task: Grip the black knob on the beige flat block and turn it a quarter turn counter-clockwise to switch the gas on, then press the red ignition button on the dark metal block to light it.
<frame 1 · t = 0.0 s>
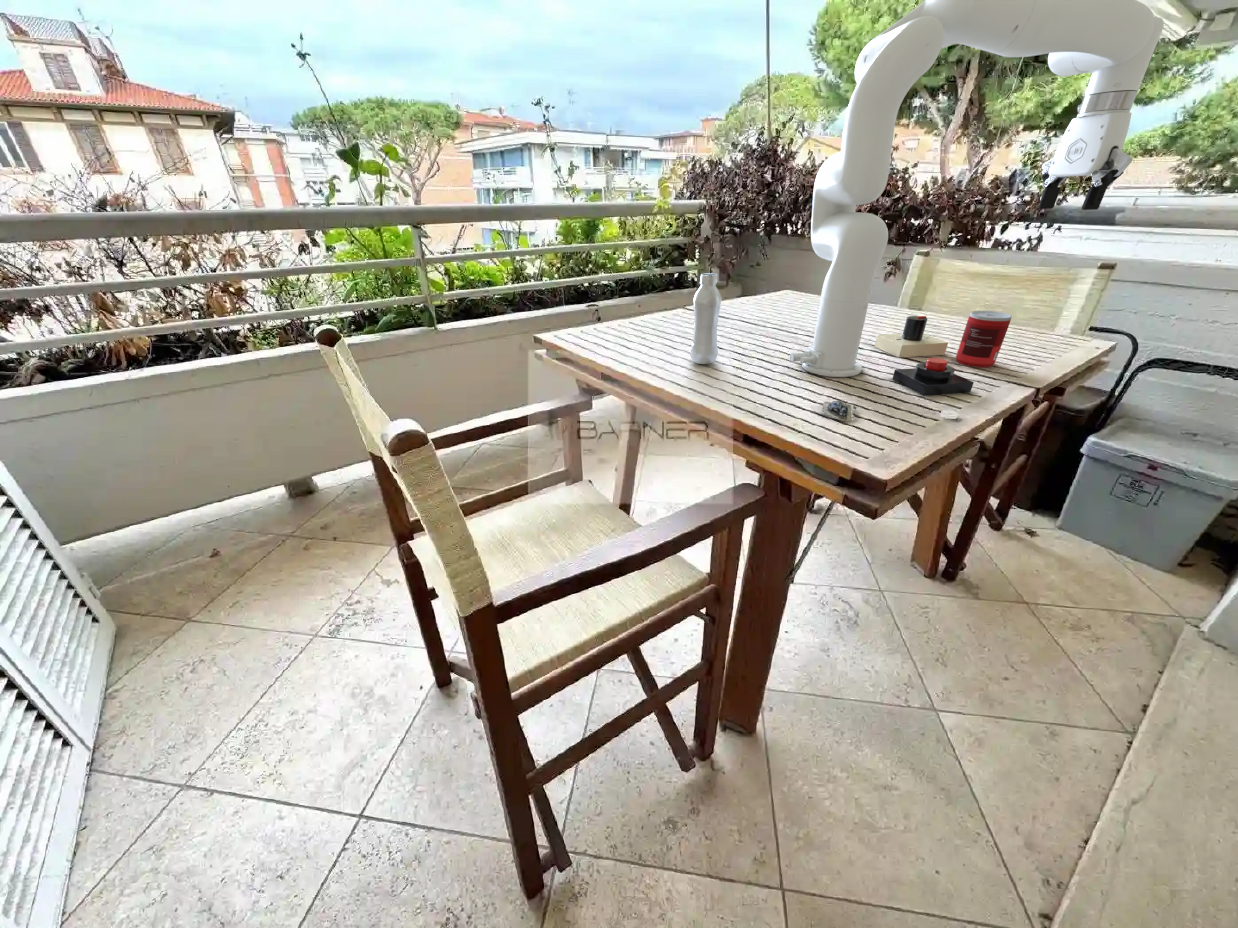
hand: (1066, 209, 99), 31 cm above the table, tool pointing down, fingers open, 9 cm apart
blueberries: (840, 414, 88), on the table
beige flat block: (908, 350, 121), on the table
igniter: (929, 385, 99), on the table
ignition button: (936, 364, 97), point 4 cm above the table, slide at 0.1 cm
canned food: (973, 363, 112), on the table
plastic bottle: (703, 363, 116), on the table
hob knob: (914, 327, 118), point 6 cm above the table, hinge at 0.0°
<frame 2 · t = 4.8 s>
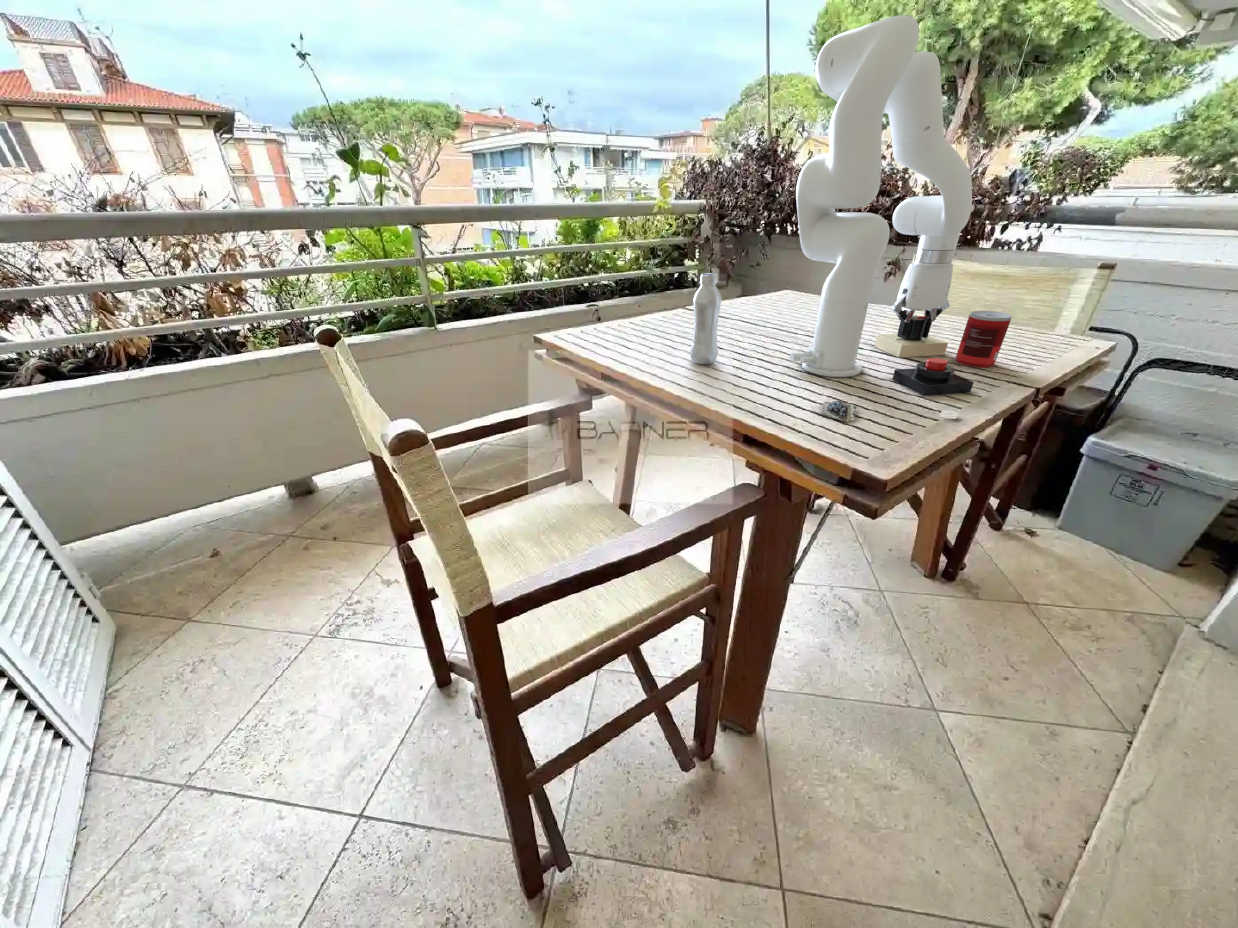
hand: (912, 336, 119), 4 cm above the table, tool pointing down, fingers closed on hob knob, 4 cm apart
hob knob: (914, 327, 118), point 6 cm above the table, hinge at -0.1°, touching gripper
everything else where it was.
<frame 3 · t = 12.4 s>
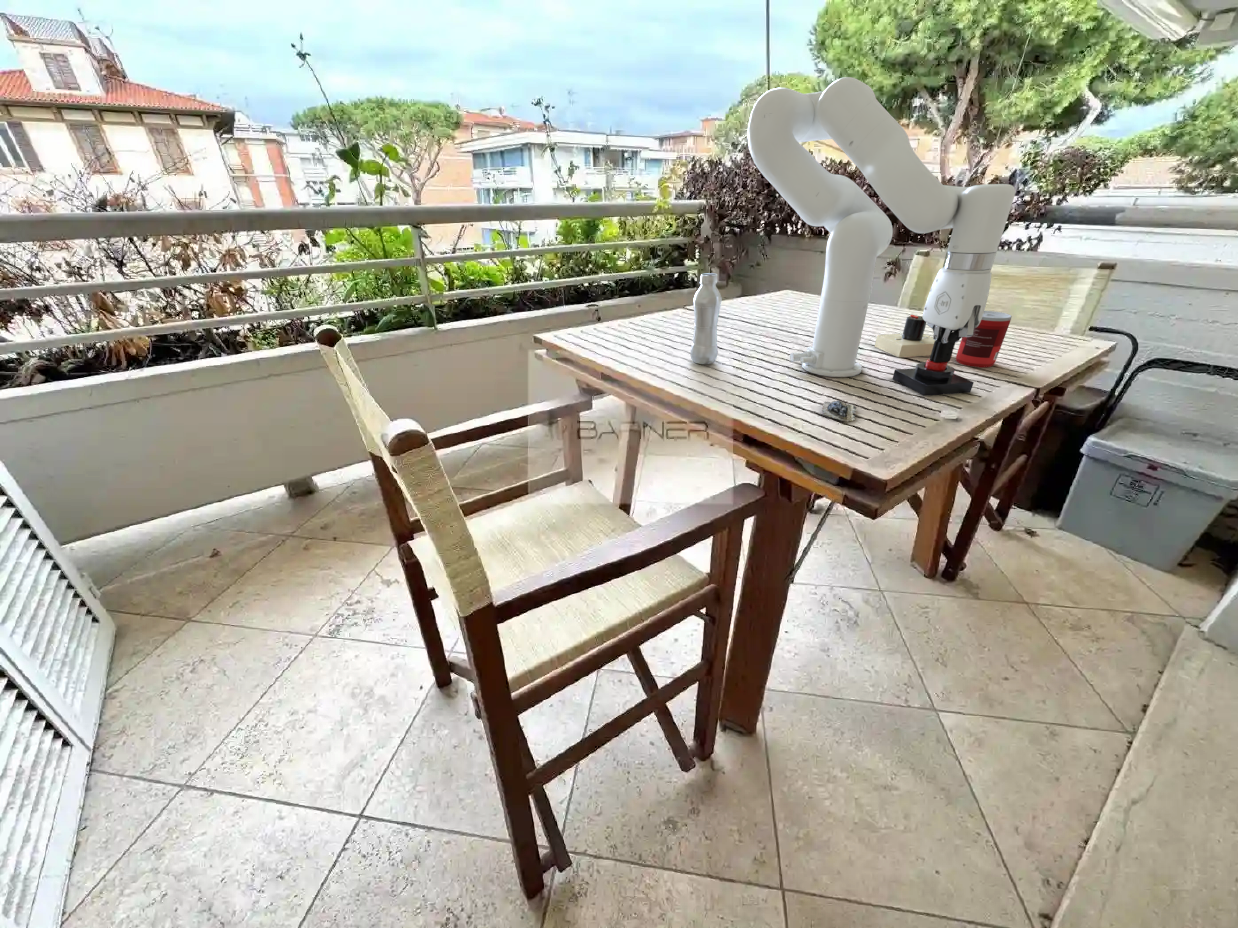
hand: (939, 361, 96), 5 cm above the table, tool pointing down, fingers closed
ignition button: (936, 365, 97), point 4 cm above the table, slide at 0.0 cm, touching gripper
hob knob: (914, 327, 118), point 6 cm above the table, hinge at 91.3°
everything else where it was.
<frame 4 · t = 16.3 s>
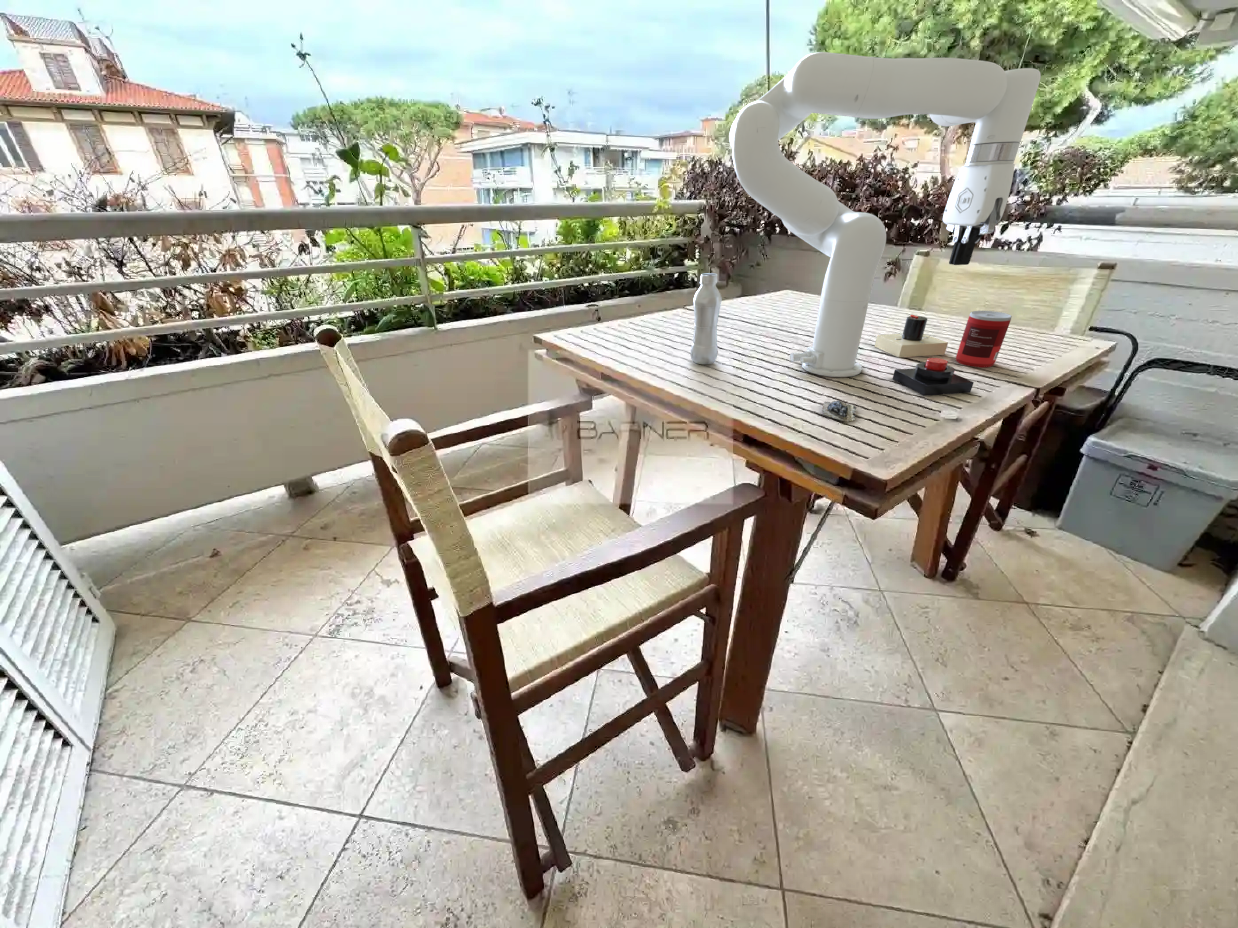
hand: (958, 264, 97), 22 cm above the table, tool pointing down, fingers closed
ignition button: (936, 364, 97), point 4 cm above the table, slide at 0.1 cm
everything else where it was.
at the end: hob knob at +91° (first picture: +0°); ignition button pushed in 1.0 cm at the most during the clip, back to where it started at the end; ignition button slide at 0.1 cm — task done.
